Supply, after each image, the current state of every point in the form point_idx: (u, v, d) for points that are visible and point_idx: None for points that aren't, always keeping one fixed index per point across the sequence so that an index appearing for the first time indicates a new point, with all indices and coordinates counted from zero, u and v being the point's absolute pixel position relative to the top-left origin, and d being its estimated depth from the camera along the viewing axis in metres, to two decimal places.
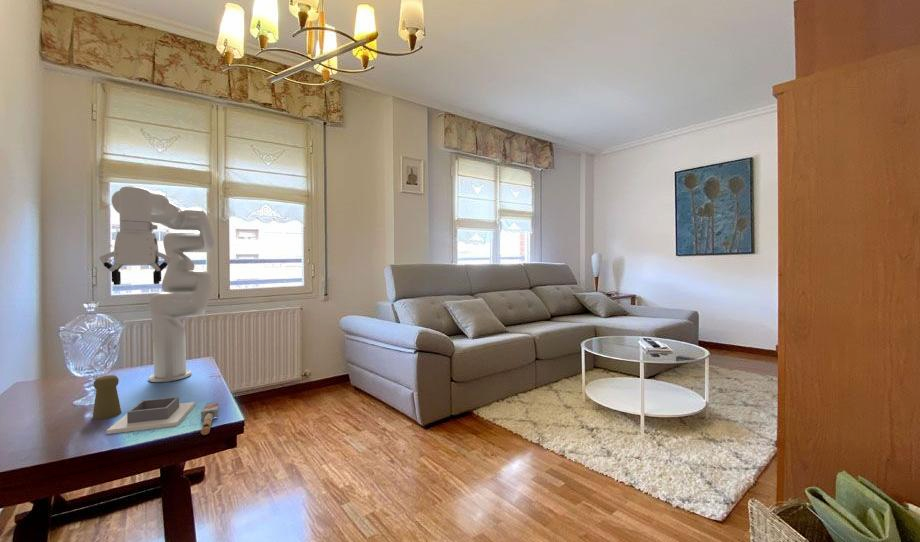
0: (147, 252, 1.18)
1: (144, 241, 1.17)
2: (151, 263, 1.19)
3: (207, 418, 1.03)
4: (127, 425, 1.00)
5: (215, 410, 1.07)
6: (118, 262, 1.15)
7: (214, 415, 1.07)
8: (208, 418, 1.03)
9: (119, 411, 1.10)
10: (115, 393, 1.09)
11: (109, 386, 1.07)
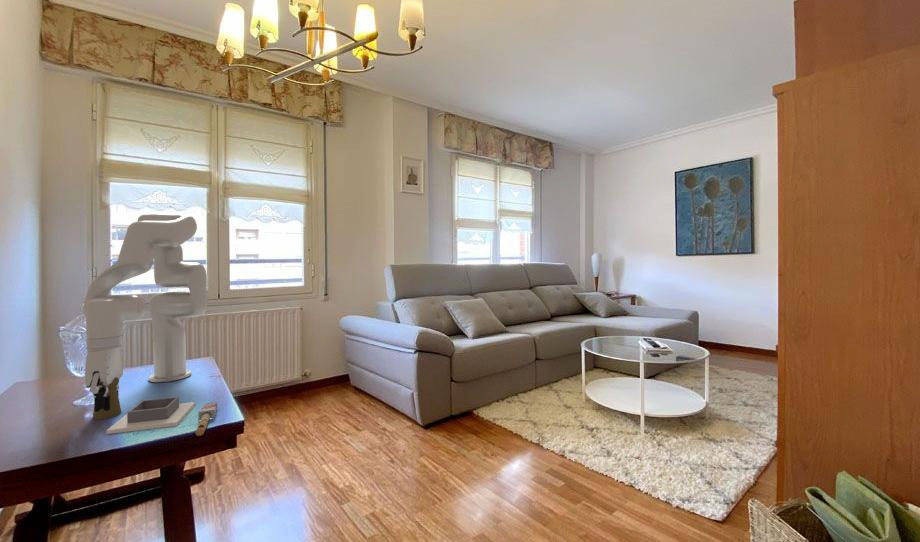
0: (121, 365, 1.12)
1: (120, 354, 1.12)
2: None
3: (203, 419, 1.02)
4: (127, 425, 1.00)
5: (212, 410, 1.06)
6: (108, 383, 1.06)
7: (211, 415, 1.07)
8: (204, 419, 1.02)
9: (119, 411, 1.10)
10: (115, 393, 1.09)
11: (109, 386, 1.07)
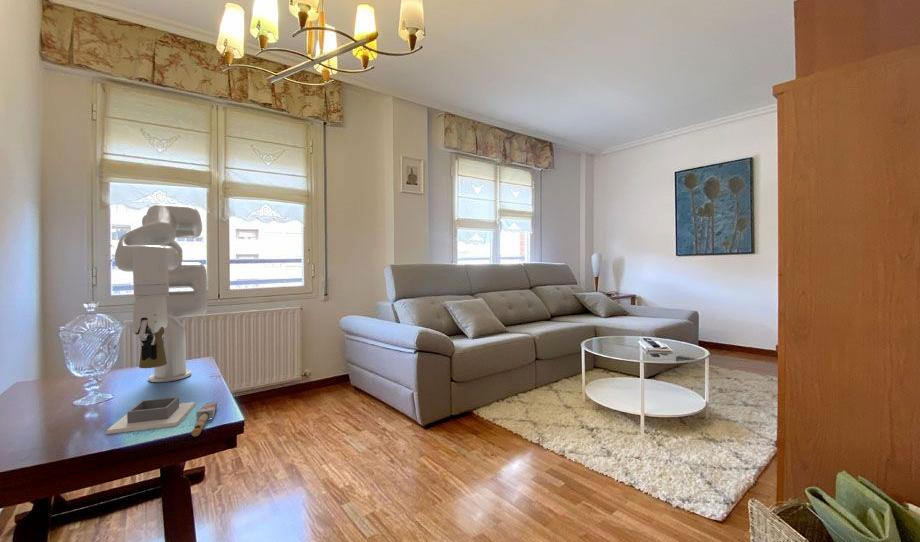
0: (166, 315, 1.10)
1: (165, 304, 1.09)
2: (165, 327, 1.10)
3: (201, 419, 1.02)
4: (127, 425, 1.00)
5: (210, 411, 1.06)
6: (155, 331, 1.03)
7: (210, 416, 1.06)
8: (202, 419, 1.02)
9: (165, 361, 1.07)
10: (161, 343, 1.07)
11: (155, 334, 1.05)
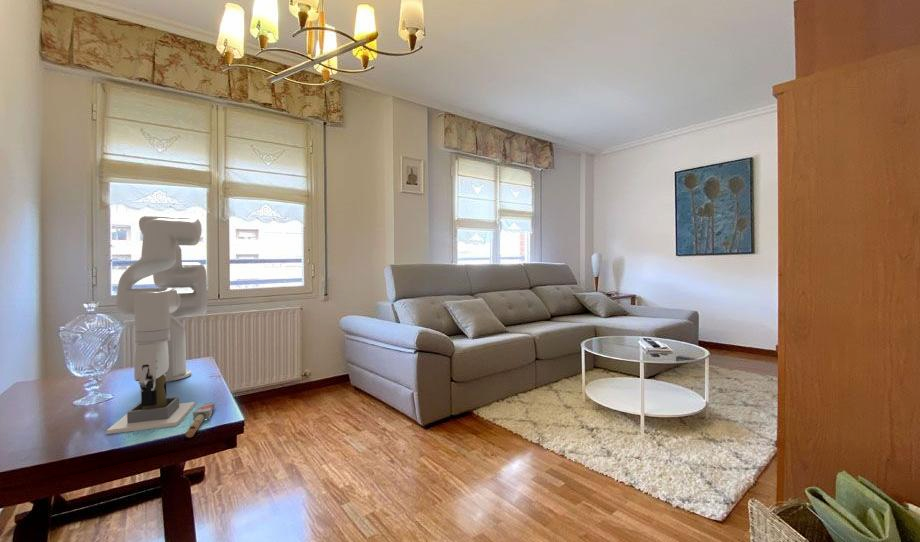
0: (167, 359, 1.10)
1: (167, 348, 1.09)
2: None
3: (196, 420, 1.01)
4: (127, 425, 1.00)
5: (207, 411, 1.06)
6: (157, 377, 1.04)
7: (206, 416, 1.06)
8: (197, 420, 1.02)
9: None
10: (163, 392, 1.07)
11: (157, 384, 1.06)
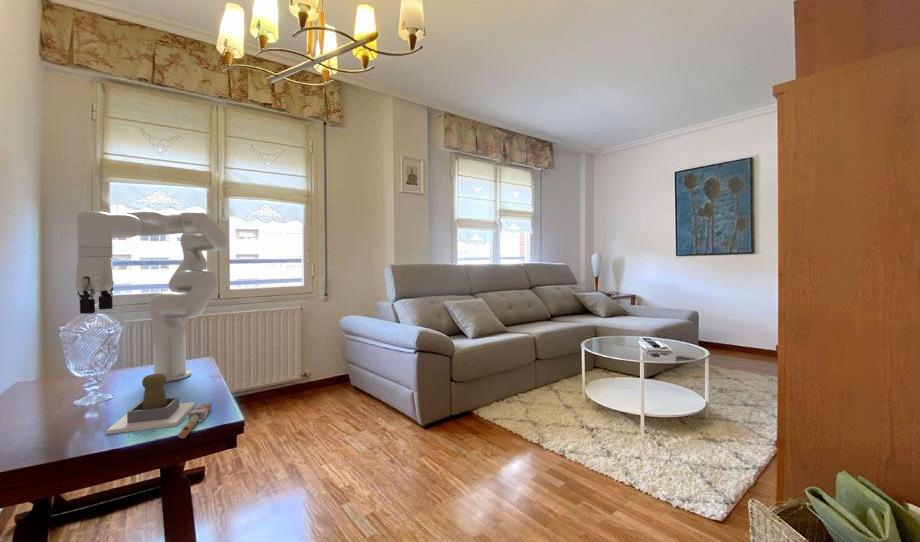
0: (111, 277, 1.19)
1: (110, 267, 1.18)
2: (110, 288, 1.20)
3: (190, 420, 1.01)
4: (127, 425, 1.00)
5: (202, 412, 1.05)
6: (98, 289, 1.12)
7: (201, 417, 1.06)
8: (191, 420, 1.01)
9: None
10: (163, 392, 1.07)
11: (157, 384, 1.06)
